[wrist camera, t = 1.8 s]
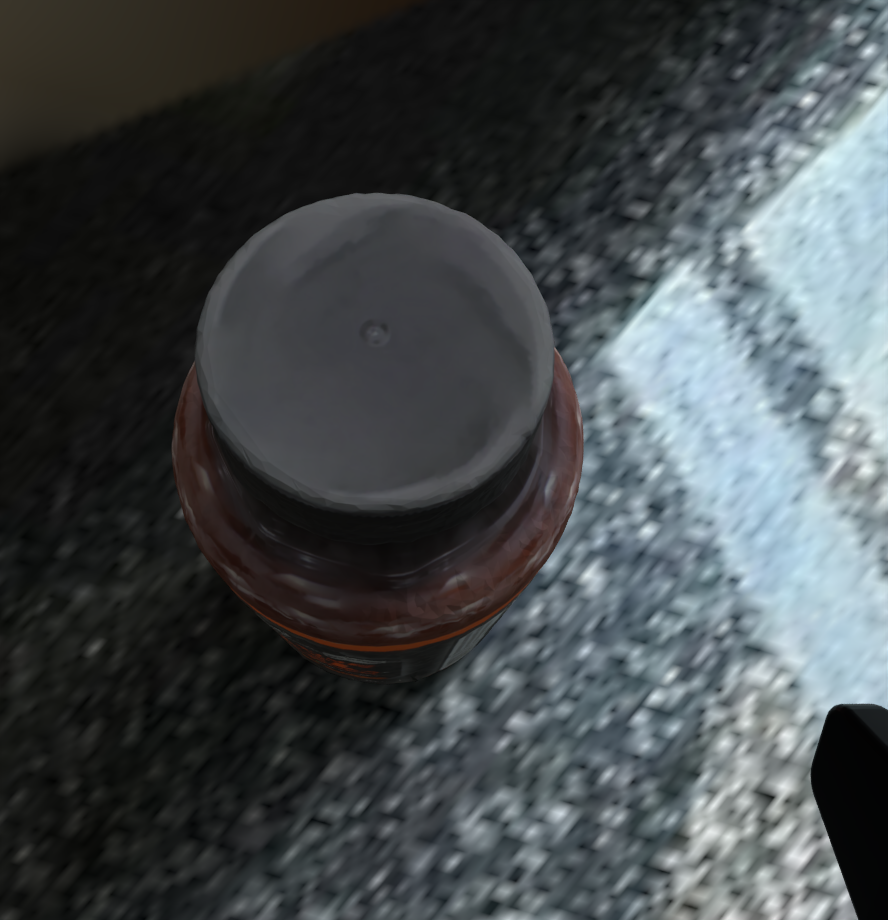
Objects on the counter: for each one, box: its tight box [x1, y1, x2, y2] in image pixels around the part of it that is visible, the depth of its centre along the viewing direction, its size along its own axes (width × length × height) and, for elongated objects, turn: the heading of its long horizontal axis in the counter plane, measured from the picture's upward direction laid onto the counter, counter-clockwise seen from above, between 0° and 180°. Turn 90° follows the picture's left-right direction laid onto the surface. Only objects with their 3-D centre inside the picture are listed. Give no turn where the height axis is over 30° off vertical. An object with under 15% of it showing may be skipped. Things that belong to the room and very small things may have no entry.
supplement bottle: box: [172, 193, 583, 684], centre depth 14 cm, size 6×6×11 cm
